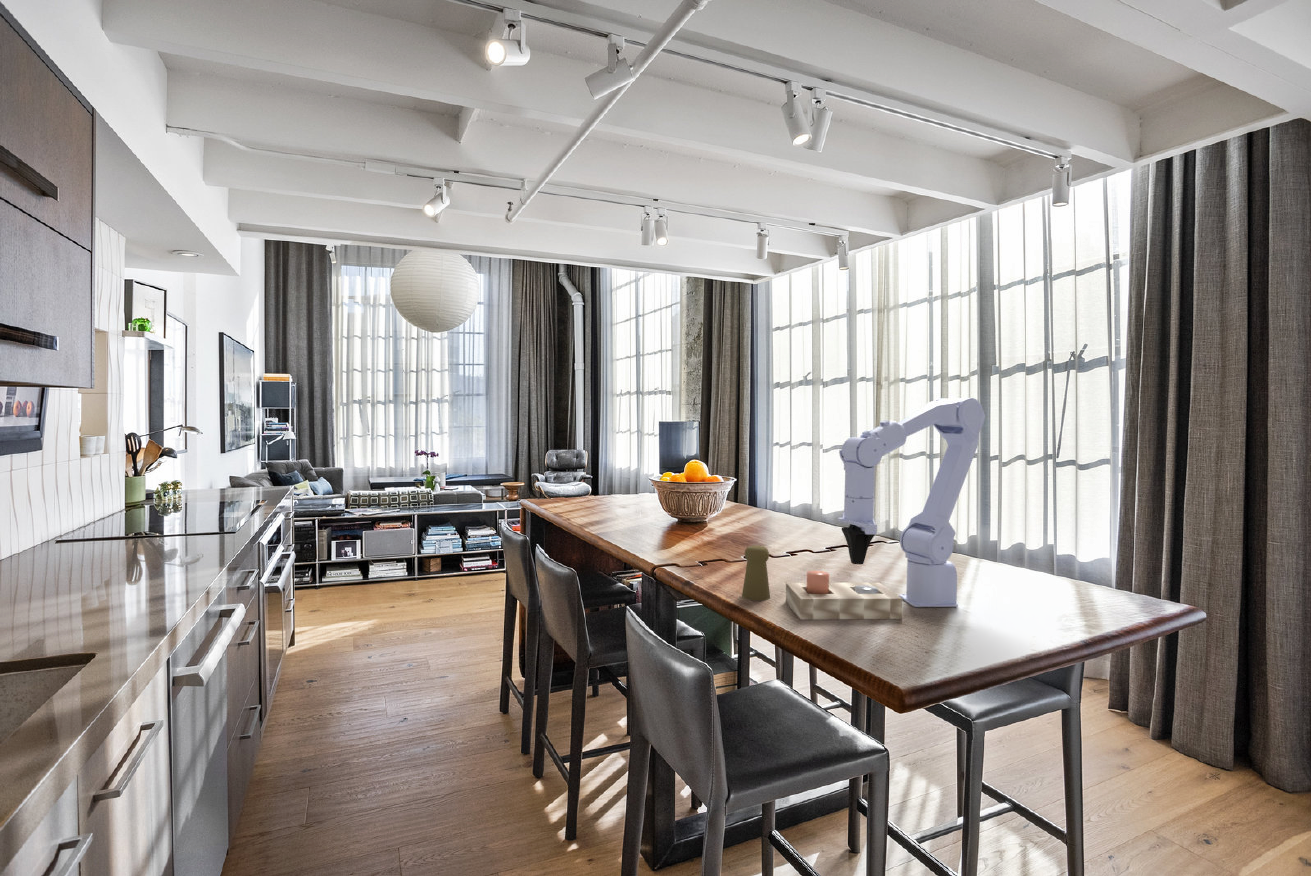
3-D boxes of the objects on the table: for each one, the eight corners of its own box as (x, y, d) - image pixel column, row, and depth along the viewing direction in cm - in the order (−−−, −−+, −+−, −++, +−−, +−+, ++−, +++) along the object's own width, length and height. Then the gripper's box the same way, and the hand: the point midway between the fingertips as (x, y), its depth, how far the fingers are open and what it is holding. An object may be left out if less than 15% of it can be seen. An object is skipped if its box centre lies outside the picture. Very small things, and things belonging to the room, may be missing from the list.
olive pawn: (769, 601, 142) (770, 549, 142) (741, 599, 143) (741, 548, 143) (770, 593, 148) (771, 544, 148) (743, 591, 149) (743, 542, 149)
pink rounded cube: (825, 589, 138) (825, 570, 138) (831, 595, 134) (832, 576, 134) (803, 589, 138) (804, 570, 138) (809, 596, 134) (810, 576, 134)
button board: (878, 601, 143) (879, 582, 143) (902, 618, 131) (902, 598, 131) (785, 601, 142) (786, 582, 142) (800, 619, 130) (801, 599, 130)
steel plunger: (872, 604, 139) (872, 585, 139) (880, 610, 135) (881, 590, 134) (851, 604, 139) (851, 585, 139) (858, 610, 134) (859, 590, 134)
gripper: (828, 492, 143) (826, 555, 143) (852, 501, 128) (850, 572, 129) (861, 492, 143) (859, 555, 144) (888, 501, 129) (886, 572, 129)
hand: (857, 563), depth 136 cm, fingers closed
